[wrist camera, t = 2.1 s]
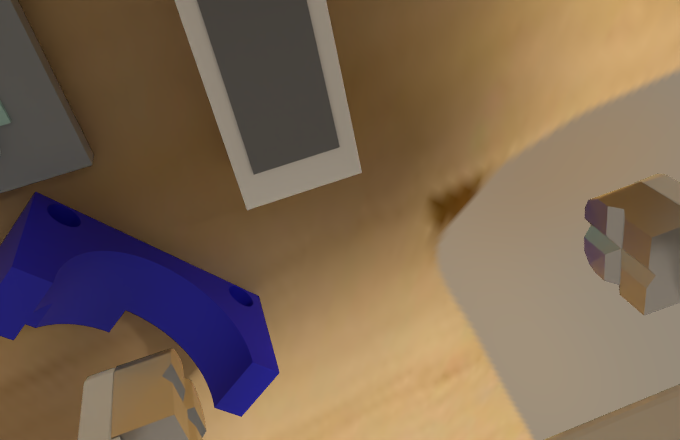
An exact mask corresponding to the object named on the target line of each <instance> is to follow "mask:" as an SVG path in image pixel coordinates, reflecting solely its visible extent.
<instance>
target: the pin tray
mask: <svg viewBox="0 0 680 440" xmlns="http://www.w3.org/2000/svg"><path fill="white" fill-rule="evenodd" d="M93 158H94V154H93V152H92V150H91V148H90V146H89V144H88V142H87V140H86V138H85V136H84V134H83V132H82V130H81V128H80V126H79V124H78V122H77V120H76V118H75V116H74V114H73V112H72V110H71V108H70V106H69V104H68V102H67V99H66V97H65V95H64V93H63V91H62V89H61V87H60V85H59V83H58V81H57V79H56V77H55V75H54V73H53V71H52V69H51V67H50V65H49V63H48V61H47V59H46V57H45V55H44V53H43V51H42V49H41V47H40V44H39V42H38V40H37V38H36V36H35V34H34V32H33V30H32V28H31V26H30V24H29V22H28V20H27V18H26V16H25V14H24V12H23V10H22V8H21V6H20V4H19V2H18V0H0V193H3V192H6V191H10V190H13V189H16V188H19V187H23V186H26V185H29V184H32V183H36V182H39V181H42V180H45V179H49V178H52V177H55V176H58V175H62V174H65V173H68V172H71V171H75V170H78V169H81V168H84V167H88V166H91V165H92V164H93Z"/></svg>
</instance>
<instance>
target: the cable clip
mask: <svg viewBox="0 0 680 440" xmlns="http://www.w3.org/2000/svg"><path fill="white" fill-rule="evenodd" d="M125 310H126V311H128V312H131V313H133V314H135V315H137V316H139V317H141V318H143V319H145V320H147V321H148V322H150V323H152V324H153V325H155V326H156V327H158V328H159V329H161V330H162V331H163V332H165V333H166V334H167V335H168V336H170V337H171V338H172V339H173V340H174V341H175V342H177V343H178V344H179V345H180V346H181V347H182V348H183V349H184V350H185V351H186V353H187V354H188V355H189V356H190V357H191V359H192V360H193V361H194V362H195V364H196V365H197V367H198V368H199V370H200V371H201V373H202V375H203V376H204V378H205V380H206V382H207V384H208V387H209V389H210V392H211V395H212V398H213V403H214V408H217V409H220V410H223V411H226V412H229V413H232V414H235V415H238V416H241V417H242V415H243V414H244V413H245V412H246V411H247V410H248V409H249V407H250V406H251V405H252V404H253V403H254V402H255V400H256V399H257V398H258V397H259V396H260V395H261V393H262V392H263V391H264V390H265V389H266V388H267V387H268V385H269V384H270V383H271V382H272V381H273V380H274V378H275V377H276V376H277V375H278V374H279V369H278V365H277V362H276V358H275V354H274V351H273V347H272V343H271V340H270V336H269V332H268V328H267V325H266V321H265V317H264V314H263V310H262V306H261V303H260V299H259V296H257V295H255V294H253V293H251V292H249V291H247V290H245V289H242V288H240V287H238V286H236V285H234V284H232V283H230V282H227V281H225V280H223V279H221V278H219V277H217V276H215V275H213V274H210V273H208V272H206V271H204V270H202V269H200V268H198V267H195V266H193V265H191V264H189V263H187V262H185V261H183V260H180V259H178V258H176V257H174V256H172V255H170V254H168V253H166V252H163V251H161V250H159V249H157V248H155V247H153V246H151V245H148V244H146V243H144V242H142V241H140V240H138V239H136V238H134V237H131V236H129V235H127V234H125V233H123V232H121V231H119V230H116V229H114V228H112V227H110V226H108V225H106V224H104V223H102V222H99V221H97V220H95V219H93V218H91V217H89V216H87V215H84V214H82V213H80V212H78V211H76V210H74V209H72V208H69V207H67V206H65V205H63V204H61V203H59V202H57V201H55V200H52V199H50V198H48V197H46V196H44V195H42V194H40V193H37V192H35V193H34V195H33V196H32V198H31V199H30V201H29V202H28V204H27V205H26V207H25V209H24V210H23V212H22V213H21V215H20V216H19V218H18V219H17V221H16V222H15V224H14V225H13V227H12V229H11V230H10V232H9V233H8V235H7V236H6V238H5V239H4V241H3V242H2V244H1V245H0V336H2V337H5V338H8V339H11V340H14V339H15V338H16V336H17V335H18V333H19V332H20V330H21V329H22V328H23V326H24V325H25V324H26V325H29V326H32V327H34V328H37V327H41V326H46V325H52V324H77V325H84V326H89V327H93V328H97V329H101V330H104V331H107V332H110V330H111V329H112V328H113V326H114V325H115V324H116V322H117V321H118V320H119V318H120V317H121V316H122V314H123V313H124V312H125Z"/></svg>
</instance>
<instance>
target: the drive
mask: <svg viewBox="0 0 680 440" xmlns="http://www.w3.org/2000/svg"><path fill="white" fill-rule="evenodd" d="M174 1H175V4H176V6H177V9H178V12H179V15H180V18H181V21H182V24H183V27H184V30H185V32H186V35H187V38H188V41H189V44H190V47H191V50H192V53H193V55H194V58H195V61H196V64H197V67H198V70H199V73H200V76H201V79H202V81H203V84H204V87H205V90H206V93H207V96H208V99H209V102H210V105H211V107H212V110H213V113H214V116H215V119H216V122H217V125H218V128H219V131H220V133H221V136H222V139H223V142H224V145H225V148H226V151H227V154H228V156H229V159H230V162H231V165H232V168H233V171H234V174H235V177H236V180H237V182H238V185H239V188H240V191H241V194H242V197H243V200H244V203H245V206H246V208H247V210H250V209H253V208H256V207H259V206H262V205H265V204H268V203H271V202H274V201H277V200H280V199H283V198H286V197H289V196H292V195H296V194H299V193H302V192H305V191H308V190H311V189H314V188H317V187H320V186H323V185H326V184H329V183H332V182H335V181H338V180H341V179H344V178H348V177H351V176H354V175H357V174H360V173H362V170H361V165H360V160H359V156H358V151H357V146H356V141H355V136H354V132H353V127H352V122H351V117H350V112H349V108H348V103H347V98H346V93H345V88H344V83H343V79H342V74H341V69H340V64H339V59H338V55H337V50H336V45H335V40H334V35H333V31H332V26H331V21H330V16H329V11H328V7H327V2H326V0H174Z"/></svg>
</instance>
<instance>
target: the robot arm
mask: <svg viewBox="0 0 680 440" xmlns="http://www.w3.org/2000/svg"><path fill="white" fill-rule="evenodd" d="M585 219H586V220H587V221H588V222H589V223H590V224H591V227H590V228H589V230H588V232H587V233H586V235H585V237H584V251H585V254H586V256H587V259H588V261H589V264H590V266H591V267H592V268H593V270H594V271H595V273H596V274H597V275H598V276H600V277H601V278H602V279H603V280H604V281H607V282H611V283H614V284H618V285H619V292H620V295H621V296H622V297H623V298H624V299H626V300H627V301H628V302H629V303H630V304H631V305H632V306H634V307H635V308H636V309H637V310H638V311H639V312H641V313H642V314H643V315H647V314H650V313H652V312H655V311H658V310H661V309H664V308H666V307H669V306H672V305H674V304H678V303H680V182H678V181H677V180H675V179H673V178H671V177H669V176H668V175H665V174H656V175H653V176H650V177H648V178H645V179H643V180H640V181H637V182H635V183H634V184H631V185H628V186H625V187H623V188H620V189H617V190H614V191H612V192H609V193H606V194H603V195H601V196H598V197H595V198H592V199H590V200H588V202H587V204H586V207H585ZM205 432H206V425H205V418H204V414H203V410H202V406H201V402H200V399H199V397H198V394H197V391H196V389H195V387H194V385H193V383H192V381H191V380H189V379H187V378H185V377H184V372H183V363H182V361H181V359H180V357H179V356H178V354H177V352H176V350H174V349H173V348H170V349H167V350H164V351H161V352H158V353H155V354H152V355H149V356H146V357H143V358H140V359H137V360H134V361H131V362H128V363H125V364H122V365H119V366H117V367H116V368H112V369H109V370H106V371H103V372H100V373H97V374H94V375H91V376H88V377H87V379H86V380H85V382H84V385H83V394H82V403H81V413H80V422H79V431H78V440H203V439H202V438H203V436H204V434H205ZM545 440H680V384H679V385H676V386H674V387H671V388H669V389H666V390H664V391H661V392H659V393H657V394H655V395H652V396H649V397H647V398H644V399H642V400H640V401H637V402H635V403H632V404H630V405H627V406H625V407H623V408H620V409H618V410H615V411H613V412H610V413H608V414H605V415H603V416H601V417H598V418H596V419H594V420H591V421H589V422H586V423H583V424H581V425H579V426H576V427H574V428H571V429H569V430H566V431H564V432H562V433H559V434H557V435H554V436H552V437H549V438H547V439H545Z"/></svg>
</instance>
